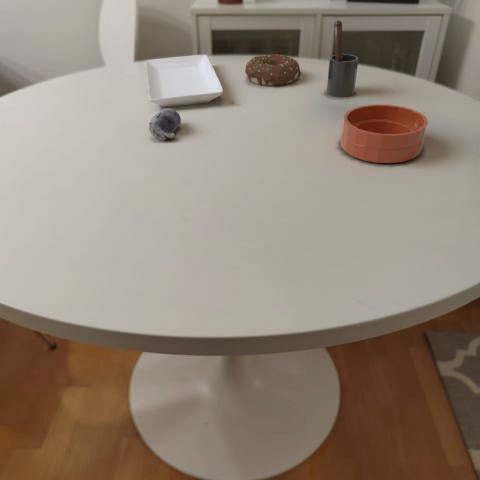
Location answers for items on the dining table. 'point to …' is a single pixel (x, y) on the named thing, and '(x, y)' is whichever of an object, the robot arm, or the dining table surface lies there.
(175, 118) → the grey plush toy
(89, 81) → the dining table surface
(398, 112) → the bowl
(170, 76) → the tray
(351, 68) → the holder
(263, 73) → the donut
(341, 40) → the stick
